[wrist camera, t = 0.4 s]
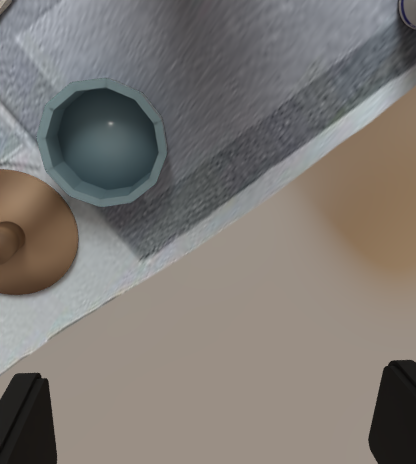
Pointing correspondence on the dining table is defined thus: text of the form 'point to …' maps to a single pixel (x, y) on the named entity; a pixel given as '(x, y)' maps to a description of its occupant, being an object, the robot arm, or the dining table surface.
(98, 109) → the bowl
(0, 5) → the packaged product
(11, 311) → the dining table surface
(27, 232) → the lid
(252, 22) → the dining table surface
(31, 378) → the robot arm
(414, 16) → the energy drink
